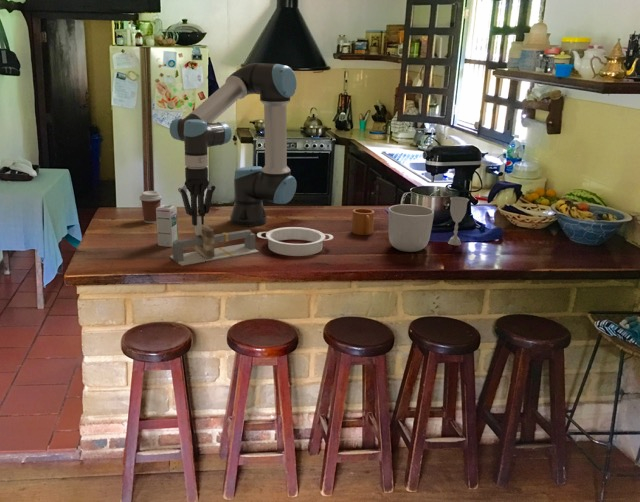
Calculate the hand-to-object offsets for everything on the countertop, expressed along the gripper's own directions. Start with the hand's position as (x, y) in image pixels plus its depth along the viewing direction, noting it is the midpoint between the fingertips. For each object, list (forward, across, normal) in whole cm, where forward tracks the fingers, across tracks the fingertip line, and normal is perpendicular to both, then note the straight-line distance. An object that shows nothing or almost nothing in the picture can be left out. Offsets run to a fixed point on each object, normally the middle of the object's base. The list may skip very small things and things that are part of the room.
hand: (198, 233), depth 224 cm
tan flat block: (+7, +2, 0) cm, 8 cm away
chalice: (+9, +94, -32) cm, 100 cm away
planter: (+9, +74, -28) cm, 79 cm away
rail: (+9, +6, 0) cm, 11 cm away
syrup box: (+9, -4, +19) cm, 21 cm away
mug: (+9, +70, -4) cm, 71 cm away
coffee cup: (+9, +2, +51) cm, 52 cm away
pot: (+9, +36, -6) cm, 38 cm away
